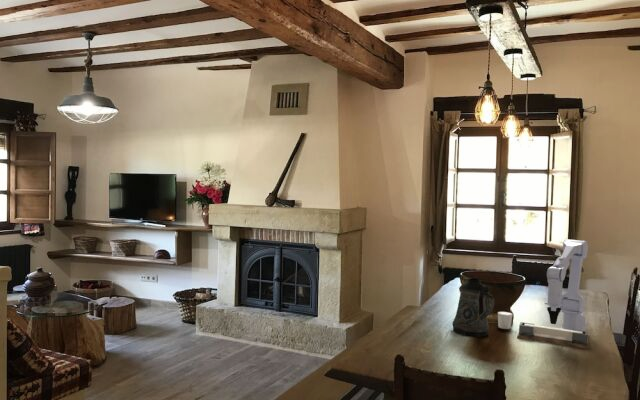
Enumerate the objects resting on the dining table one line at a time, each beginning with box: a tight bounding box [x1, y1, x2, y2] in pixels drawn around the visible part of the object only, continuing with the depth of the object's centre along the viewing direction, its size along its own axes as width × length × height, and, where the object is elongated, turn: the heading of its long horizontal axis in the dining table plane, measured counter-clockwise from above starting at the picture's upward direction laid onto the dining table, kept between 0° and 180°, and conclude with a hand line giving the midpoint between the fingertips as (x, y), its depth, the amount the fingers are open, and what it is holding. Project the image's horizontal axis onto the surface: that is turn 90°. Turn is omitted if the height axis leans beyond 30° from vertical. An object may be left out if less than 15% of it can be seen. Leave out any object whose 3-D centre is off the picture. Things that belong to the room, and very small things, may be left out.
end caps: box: [518, 321, 589, 345], centre depth 243 cm, size 28×6×4 cm, turn 64°
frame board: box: [516, 332, 589, 350], centre depth 243 cm, size 29×10×1 cm, turn 64°
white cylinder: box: [497, 311, 513, 330], centre depth 262 cm, size 7×7×7 cm
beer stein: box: [451, 277, 495, 338], centre depth 250 cm, size 16×19×25 cm
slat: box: [524, 323, 583, 339], centre depth 243 cm, size 24×3×3 cm, turn 64°
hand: (553, 323), depth 243 cm, fingers closed
